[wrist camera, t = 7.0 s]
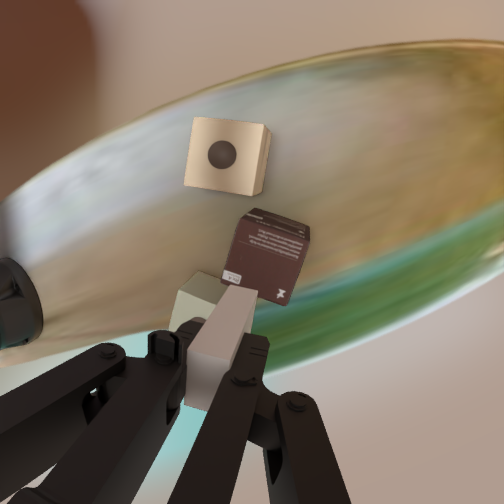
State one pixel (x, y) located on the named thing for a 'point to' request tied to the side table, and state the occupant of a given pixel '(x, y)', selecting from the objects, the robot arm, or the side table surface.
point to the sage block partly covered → (196, 299)
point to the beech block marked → (227, 155)
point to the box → (267, 255)
